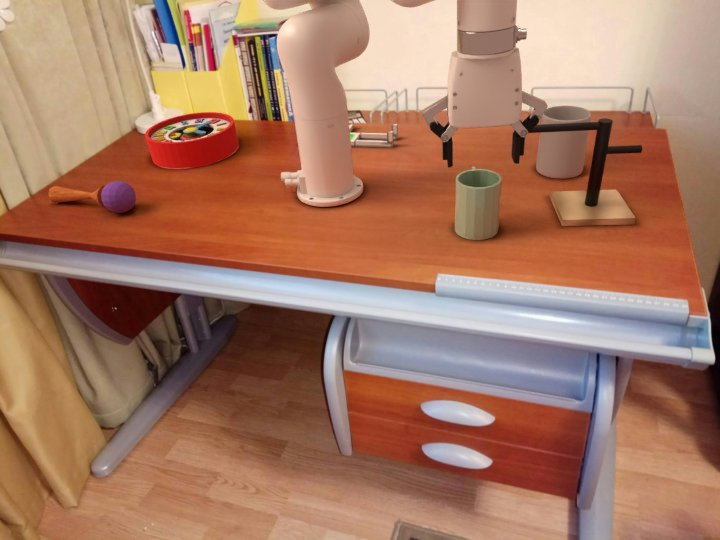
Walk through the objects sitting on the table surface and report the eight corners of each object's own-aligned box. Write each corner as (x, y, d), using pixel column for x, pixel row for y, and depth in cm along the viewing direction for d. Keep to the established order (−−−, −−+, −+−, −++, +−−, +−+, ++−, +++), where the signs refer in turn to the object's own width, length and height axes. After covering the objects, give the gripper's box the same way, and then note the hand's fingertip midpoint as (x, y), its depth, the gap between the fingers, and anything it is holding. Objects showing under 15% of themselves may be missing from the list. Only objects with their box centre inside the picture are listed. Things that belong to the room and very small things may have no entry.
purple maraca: (64, 176, 111) (138, 177, 104) (72, 204, 114) (146, 208, 106) (38, 183, 106) (114, 185, 99) (47, 213, 109) (122, 217, 101)
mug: (579, 181, 100) (588, 122, 94) (531, 176, 103) (537, 119, 97) (588, 156, 109) (597, 101, 102) (543, 152, 112) (550, 98, 106)
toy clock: (125, 136, 123) (191, 108, 136) (134, 160, 126) (197, 131, 140) (187, 148, 113) (251, 117, 127) (194, 174, 117) (256, 141, 130)
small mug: (500, 239, 86) (504, 187, 81) (455, 240, 87) (456, 189, 82) (492, 205, 95) (495, 156, 90) (452, 206, 96) (452, 158, 91)
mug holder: (513, 227, 88) (522, 136, 80) (505, 199, 97) (512, 113, 88) (637, 224, 86) (659, 130, 78) (618, 195, 94) (636, 107, 86)
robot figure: (403, 129, 129) (315, 127, 135) (402, 115, 127) (313, 114, 133) (386, 157, 116) (290, 154, 122) (385, 142, 114) (288, 139, 120)
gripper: (547, 30, 75) (537, 149, 84) (420, 40, 77) (424, 155, 86) (559, 41, 69) (546, 169, 78) (420, 53, 71) (424, 175, 80)
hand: (482, 162), depth 82 cm, fingers open, 9 cm apart
